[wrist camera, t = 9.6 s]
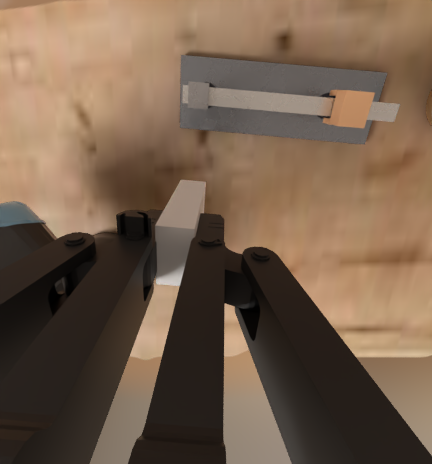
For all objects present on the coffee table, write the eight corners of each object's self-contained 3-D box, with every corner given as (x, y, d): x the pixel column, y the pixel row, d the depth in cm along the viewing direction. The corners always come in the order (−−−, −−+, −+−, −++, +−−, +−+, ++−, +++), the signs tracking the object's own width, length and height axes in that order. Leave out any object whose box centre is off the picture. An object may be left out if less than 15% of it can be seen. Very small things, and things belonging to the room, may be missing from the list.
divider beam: (192, 104, 42) (181, 106, 33) (193, 84, 41) (181, 80, 31) (359, 119, 42) (396, 126, 32) (365, 99, 40) (405, 100, 31)
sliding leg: (309, 118, 42) (337, 126, 30) (315, 90, 40) (347, 89, 29) (328, 120, 41) (363, 129, 30) (335, 92, 40) (375, 91, 29)
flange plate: (181, 126, 45) (179, 127, 44) (182, 56, 40) (180, 54, 39) (361, 143, 44) (365, 144, 43) (383, 73, 40) (388, 72, 39)
